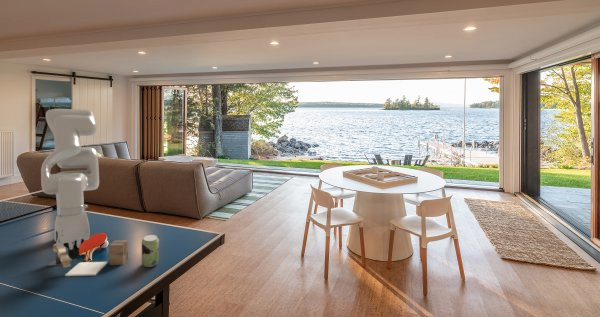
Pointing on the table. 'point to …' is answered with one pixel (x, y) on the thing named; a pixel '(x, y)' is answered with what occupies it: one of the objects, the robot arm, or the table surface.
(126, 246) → the walnut block
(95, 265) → the tile
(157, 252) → the beverage can
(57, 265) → the pivot plate
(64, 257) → the swing arm
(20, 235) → the table surface
